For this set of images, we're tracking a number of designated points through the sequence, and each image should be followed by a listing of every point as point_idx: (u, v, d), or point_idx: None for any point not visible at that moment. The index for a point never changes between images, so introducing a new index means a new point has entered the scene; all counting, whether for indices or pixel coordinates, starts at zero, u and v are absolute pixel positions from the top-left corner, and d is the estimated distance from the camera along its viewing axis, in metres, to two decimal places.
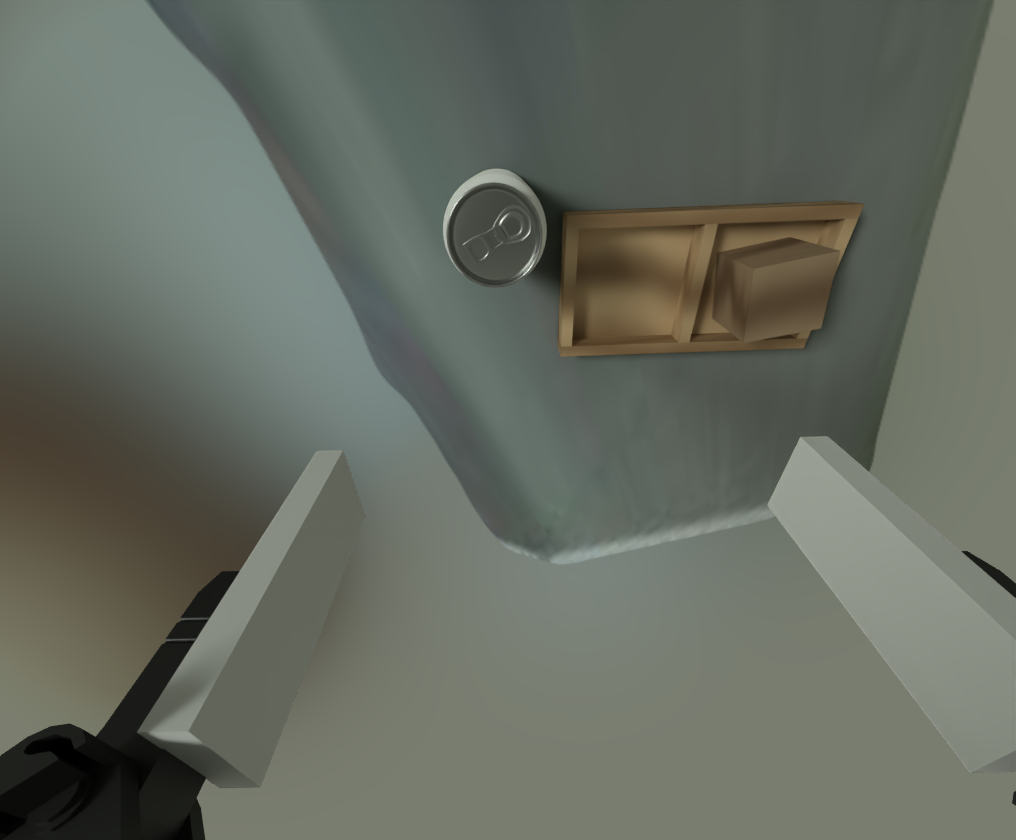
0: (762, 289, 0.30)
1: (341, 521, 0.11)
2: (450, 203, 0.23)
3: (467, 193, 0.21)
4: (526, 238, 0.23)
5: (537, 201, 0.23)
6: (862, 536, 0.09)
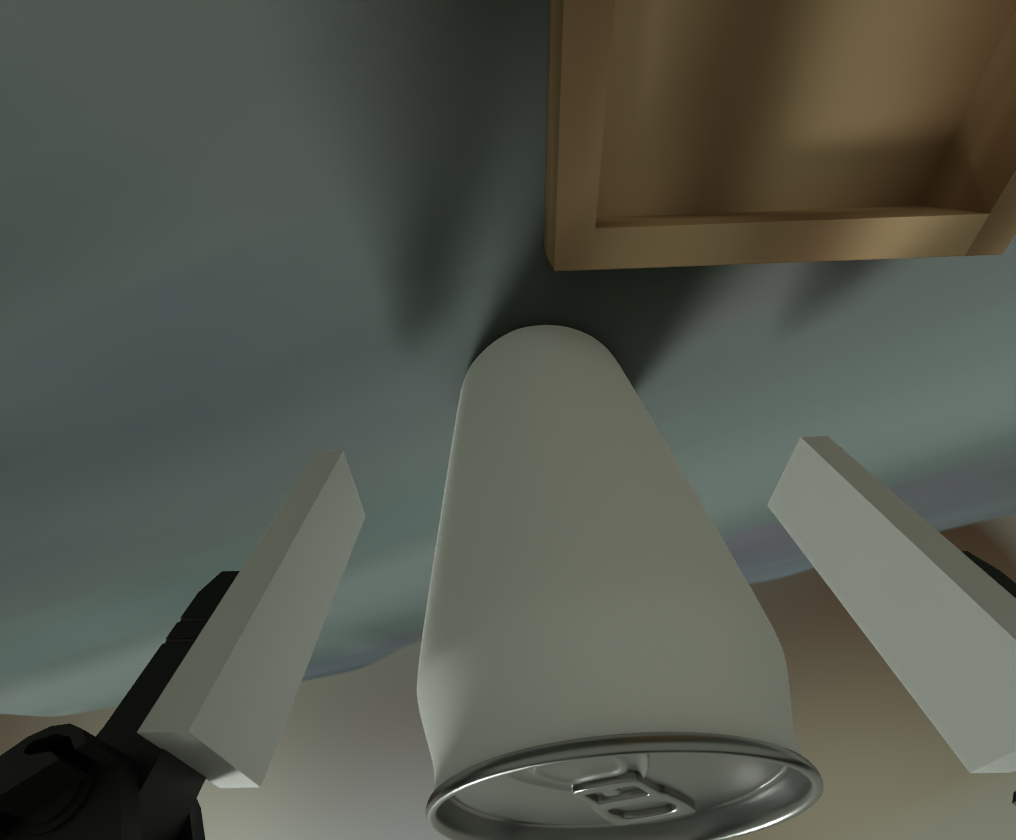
0: None
1: (341, 521, 0.11)
2: None
3: None
4: None
5: (493, 637, 0.05)
6: (862, 536, 0.09)
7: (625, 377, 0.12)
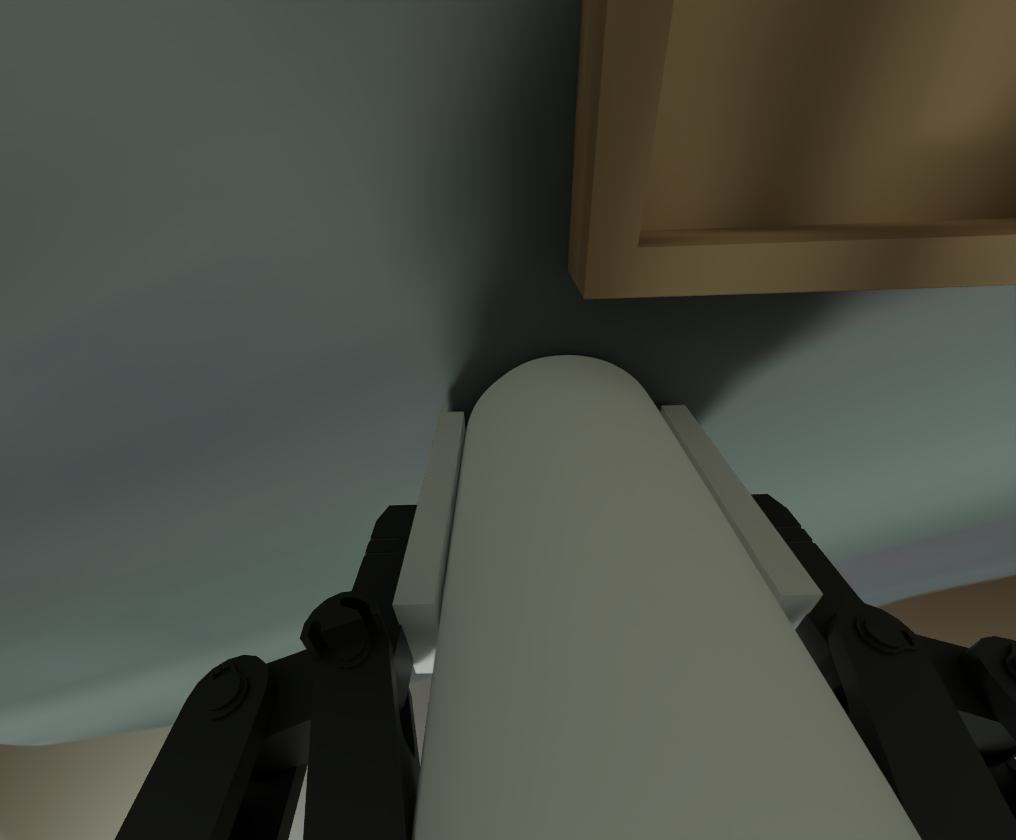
0: None
1: None
2: None
3: None
4: None
5: None
6: None
7: (664, 422, 0.10)
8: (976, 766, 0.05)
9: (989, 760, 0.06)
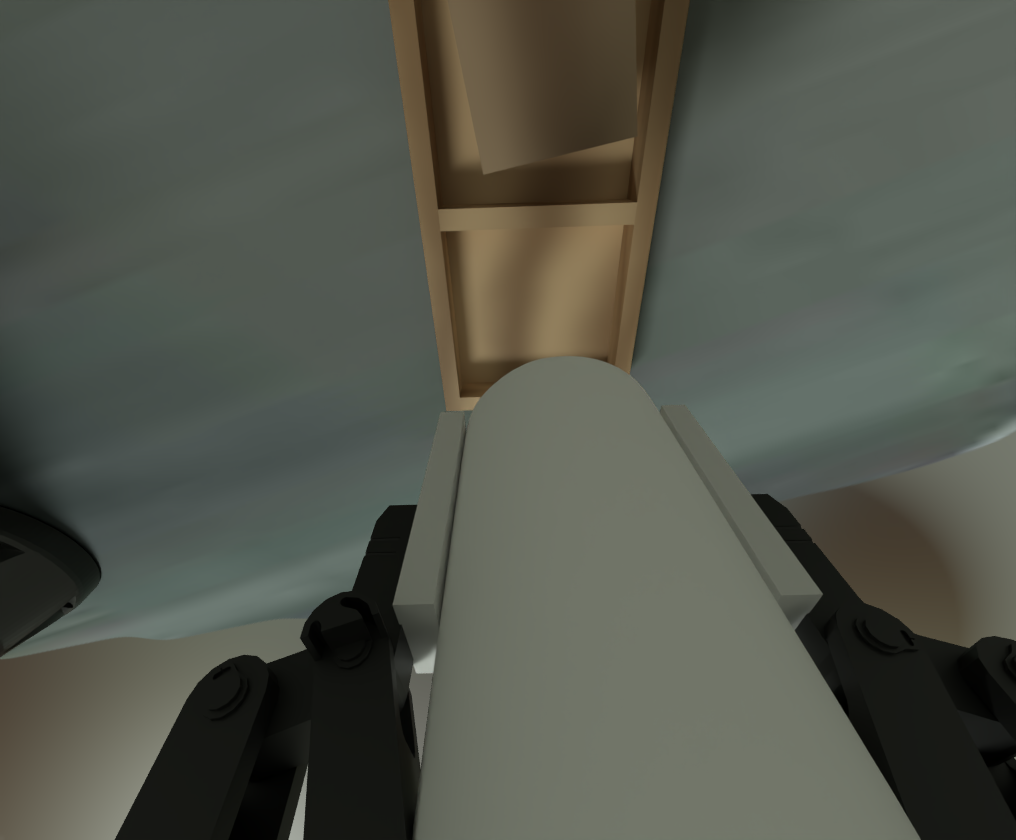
0: (522, 137, 0.15)
1: None
2: None
3: None
4: None
5: None
6: None
7: (664, 423, 0.10)
8: (976, 766, 0.05)
9: (989, 760, 0.06)
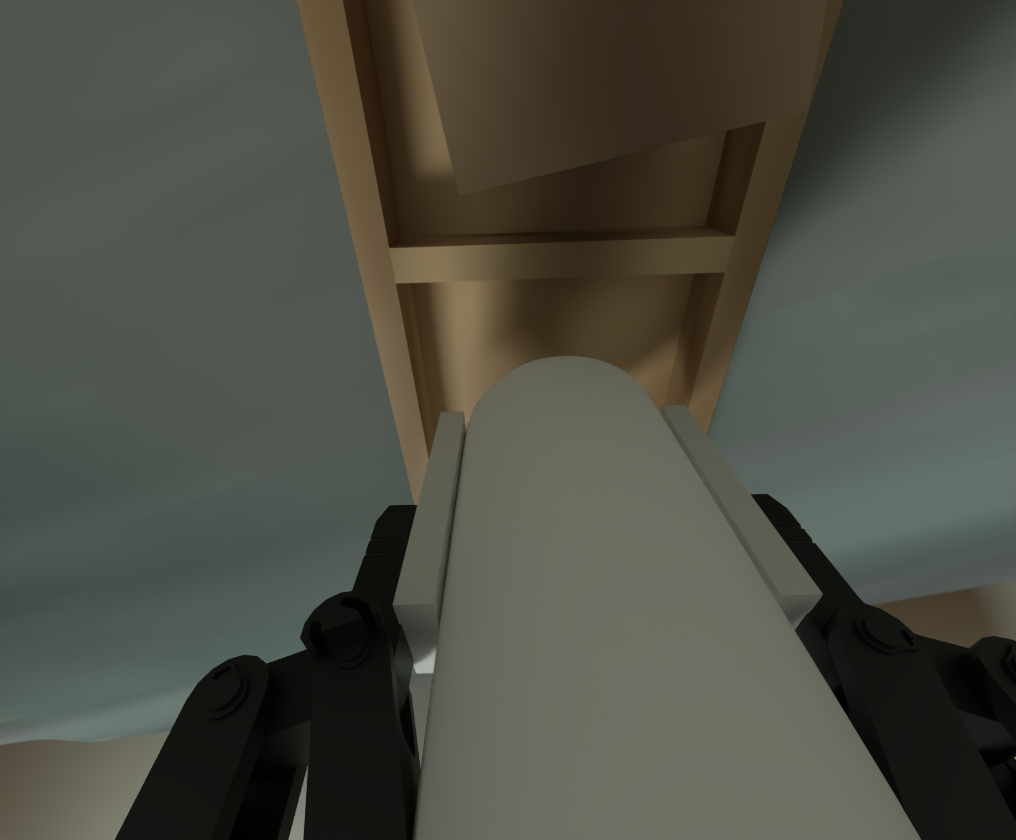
0: (544, 112, 0.06)
1: None
2: None
3: None
4: None
5: None
6: None
7: (665, 423, 0.10)
8: (976, 766, 0.05)
9: (989, 760, 0.06)
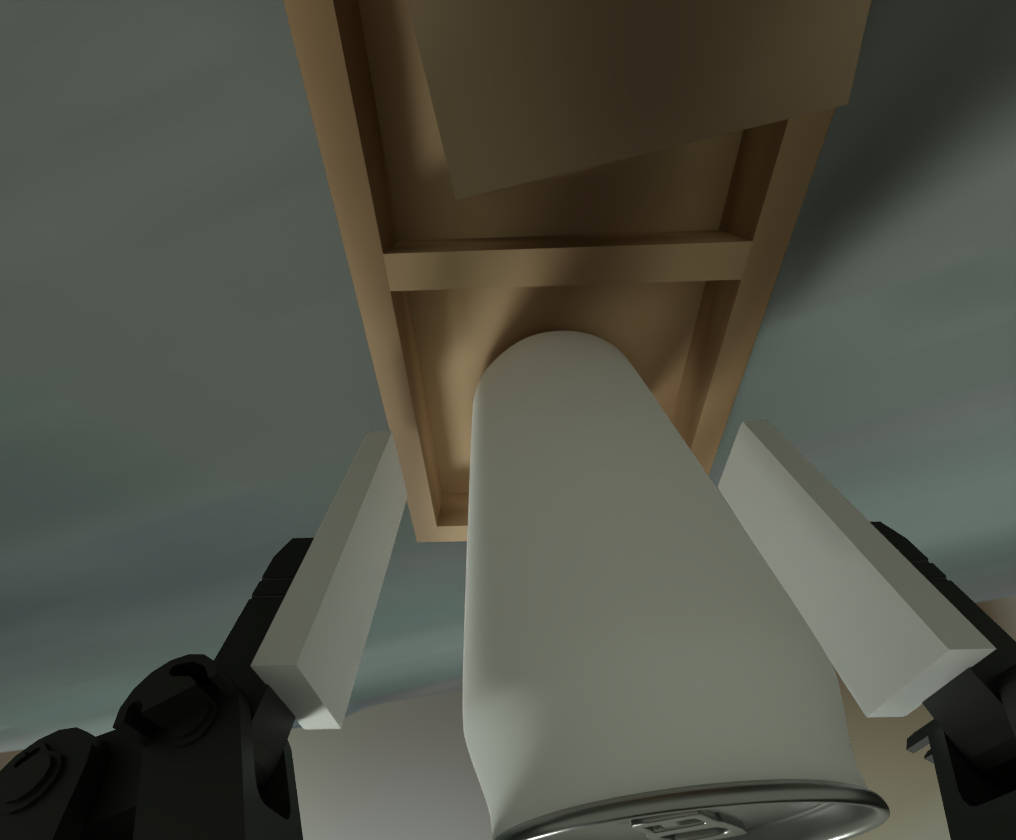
0: (551, 106, 0.06)
1: (391, 497, 0.11)
2: None
3: None
4: None
5: (554, 679, 0.05)
6: (788, 510, 0.10)
7: (645, 384, 0.12)
8: None
9: None
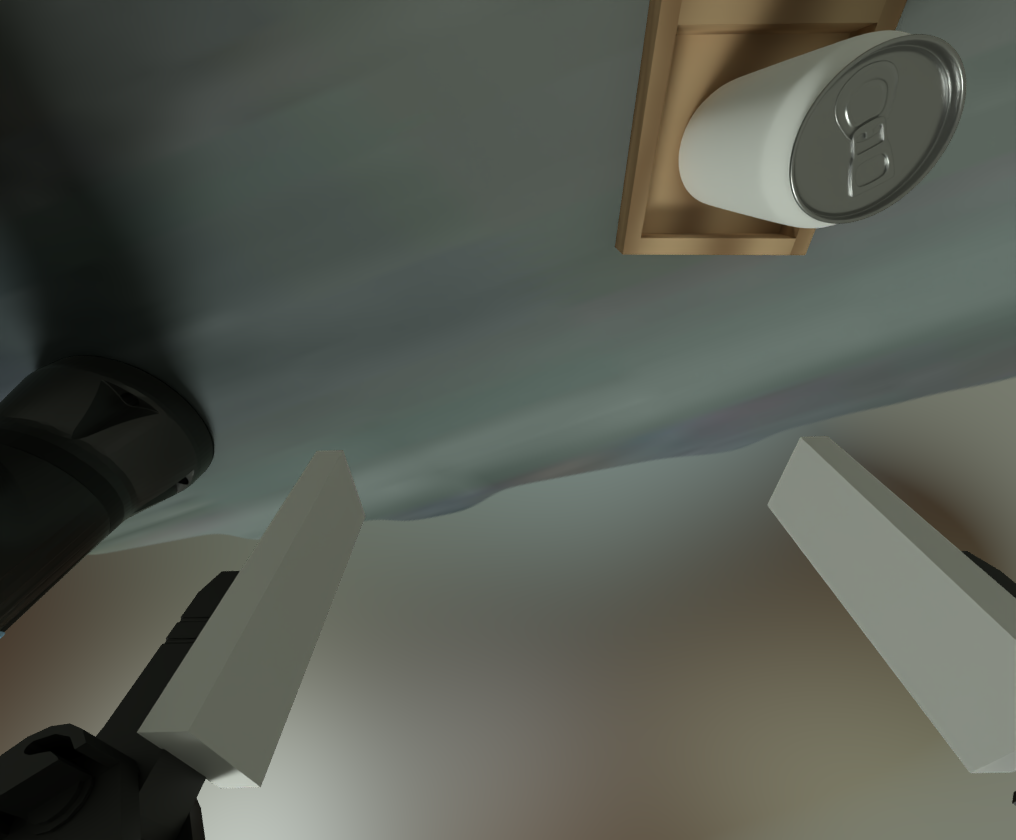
0: None
1: (341, 521, 0.11)
2: (779, 212, 0.17)
3: (793, 182, 0.15)
4: (898, 72, 0.13)
5: (835, 52, 0.14)
6: (862, 536, 0.09)
7: None
8: None
9: None
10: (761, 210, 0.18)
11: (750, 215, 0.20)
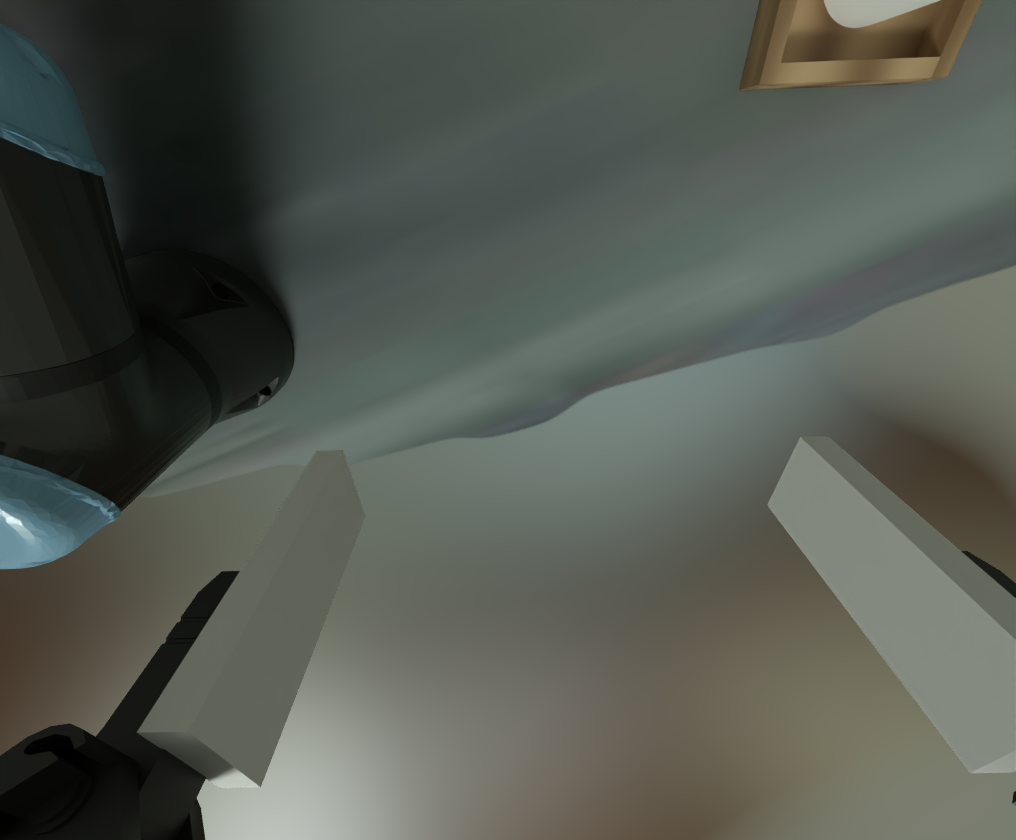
0: None
1: (341, 521, 0.11)
2: None
3: None
4: None
5: None
6: (862, 536, 0.09)
7: None
8: None
9: None
10: None
11: None
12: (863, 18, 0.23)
